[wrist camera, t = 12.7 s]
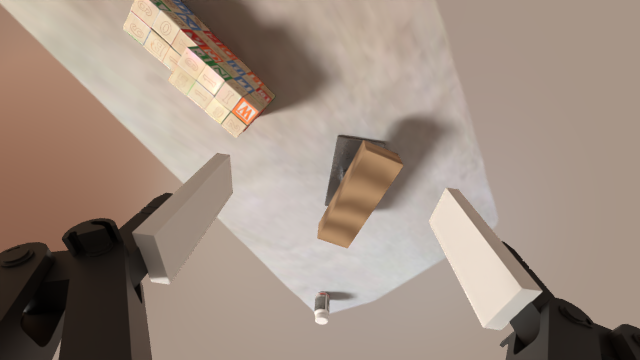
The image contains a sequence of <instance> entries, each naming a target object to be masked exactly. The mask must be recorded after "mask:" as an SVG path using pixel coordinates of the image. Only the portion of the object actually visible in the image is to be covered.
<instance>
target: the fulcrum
mask: <svg viewBox="0 0 640 360" xmlns="http://www.w3.org/2000/svg"><path fill="white" fill-rule="evenodd" d="M365 141H367V142H370V143H372V144H374V145H377V146H379V147H382V148H384V146H385V144H384V143H381V142H375V141H368V140H365ZM362 142H363V140H362V139H355V138H349V137H342V136H338V137H337V142H336V148H335V153H334V158H333V164H332V169H331V174H330V180H329V185H328V190H327V196H326V201H325V206H329V204H330V202H331V200H332V198H333V196H334V194H335V193H336V191H337V189H338V187H339V185H340V183H341V181H342V180H343V178H344V176H345V174H346V172H347V170H348V168H349V166H350V165H351V163H352V161H353V159H354V157H355V155H356V153H357V151H358V150H359V148H360V146H361V144H362Z"/></svg>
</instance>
